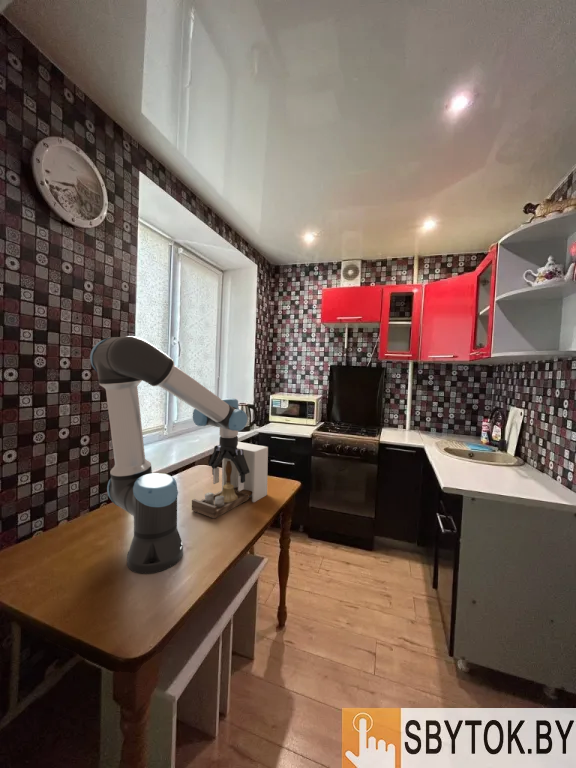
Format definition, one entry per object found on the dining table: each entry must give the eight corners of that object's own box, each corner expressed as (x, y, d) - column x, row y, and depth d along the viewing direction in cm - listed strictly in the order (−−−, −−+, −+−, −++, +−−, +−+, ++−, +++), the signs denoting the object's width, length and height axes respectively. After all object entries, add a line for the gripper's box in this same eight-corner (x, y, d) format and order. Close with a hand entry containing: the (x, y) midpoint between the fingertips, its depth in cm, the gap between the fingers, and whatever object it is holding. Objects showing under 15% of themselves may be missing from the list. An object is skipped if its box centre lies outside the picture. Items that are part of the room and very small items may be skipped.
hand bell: (242, 498, 131) (242, 460, 130) (227, 504, 124) (227, 465, 124) (228, 493, 136) (229, 457, 135) (213, 499, 129) (214, 461, 129)
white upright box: (220, 521, 114) (221, 463, 113) (186, 509, 123) (187, 455, 122) (267, 494, 139) (267, 446, 138) (235, 486, 148) (236, 441, 147)
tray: (214, 518, 115) (214, 505, 115) (191, 510, 121) (191, 497, 121) (248, 499, 132) (248, 487, 132) (227, 493, 139) (227, 482, 138)
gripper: (258, 438, 126) (257, 490, 127) (213, 430, 139) (212, 477, 140) (246, 441, 119) (246, 496, 120) (200, 433, 132) (200, 482, 133)
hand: (228, 486), depth 130 cm, fingers open, 13 cm apart
